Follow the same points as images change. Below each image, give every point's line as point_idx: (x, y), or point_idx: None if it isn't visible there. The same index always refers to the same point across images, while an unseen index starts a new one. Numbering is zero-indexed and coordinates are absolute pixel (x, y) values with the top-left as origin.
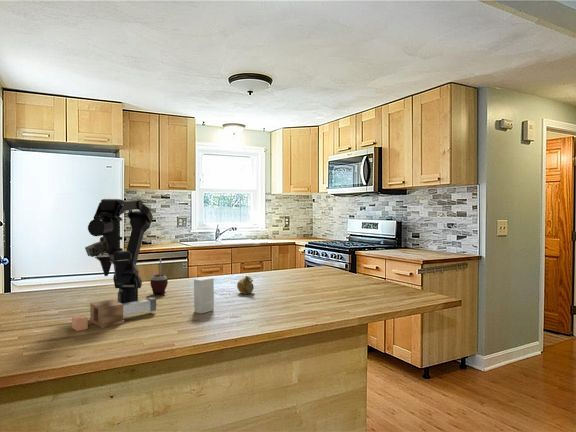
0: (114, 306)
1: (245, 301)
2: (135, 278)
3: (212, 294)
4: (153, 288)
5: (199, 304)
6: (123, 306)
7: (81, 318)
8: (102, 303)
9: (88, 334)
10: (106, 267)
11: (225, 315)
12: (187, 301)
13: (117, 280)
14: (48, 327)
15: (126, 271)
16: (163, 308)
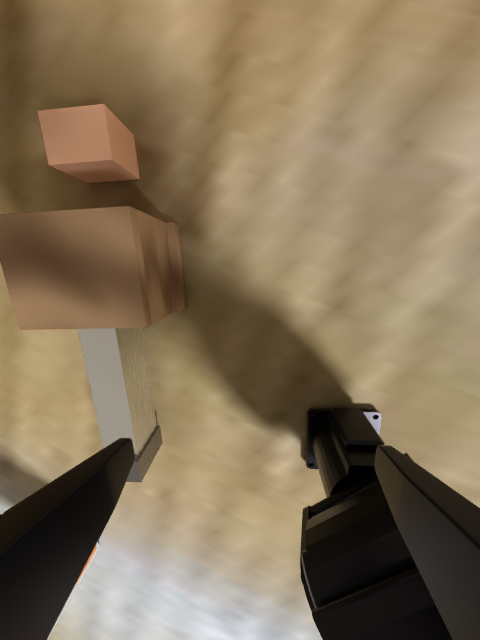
0: (10, 285)
1: (109, 632)
2: (302, 578)
3: None
4: None
5: None
6: (84, 342)
7: (45, 134)
8: (85, 257)
9: (14, 161)
10: (453, 575)
11: None
12: (215, 559)
13: (384, 497)
14: (200, 43)
15: (367, 629)
16: (182, 476)
